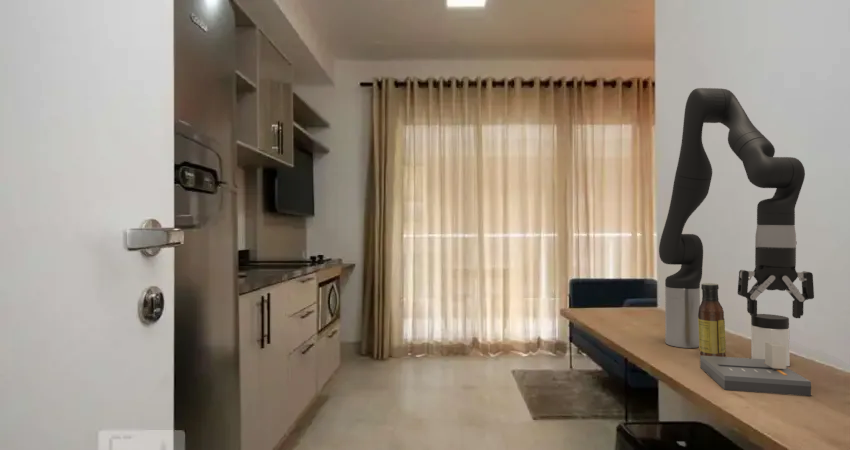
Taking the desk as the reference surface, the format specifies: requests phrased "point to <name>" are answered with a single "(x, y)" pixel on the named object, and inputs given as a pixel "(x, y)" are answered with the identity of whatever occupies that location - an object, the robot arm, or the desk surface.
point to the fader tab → (775, 355)
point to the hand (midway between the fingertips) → (774, 316)
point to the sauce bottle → (711, 323)
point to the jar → (769, 334)
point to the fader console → (753, 376)
